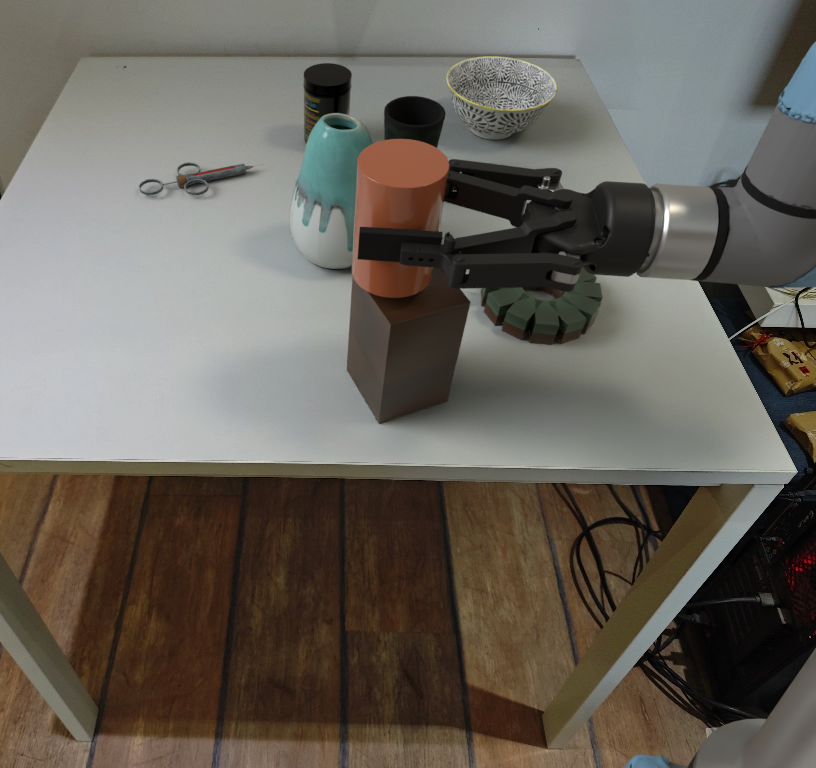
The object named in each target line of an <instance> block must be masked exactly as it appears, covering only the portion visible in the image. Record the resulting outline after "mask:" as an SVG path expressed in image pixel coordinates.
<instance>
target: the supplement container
mask: <svg viewBox="0 0 816 768" xmlns="http://www.w3.org/2000/svg"><path fill="white" fill-rule="evenodd" d="M352 76H353V73H352V71H351V70H350V69H349V68H348V67H346V66H345V65H342V64H338V63H332V62H323V63H322V62H321V63H316V64H313V65H310V66H309V67H307V68H305V70H304V71H303V84H302V87H303V140H304V143H305V145H306V144H307V141H308V138H309V135H310V133H311V131H312V129H313V128H314V126H315V124H316V123H317V122H318V120H319V119H320V118H321V117H322V116H324V115H327V114H331V113H341V114H346V115H350V116H351V93H352V78H353V77H352Z"/></svg>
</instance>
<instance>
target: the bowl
mask: <svg viewBox="0 0 816 768" xmlns="http://www.w3.org/2000/svg"><path fill="white" fill-rule="evenodd" d="M445 78H446V84H447V87H448V89H449V94H450V99H451V103H452V107H453V110H454V111H455V114H456V116H457V117H458V118H459V119H460V121H461V122H462V123H463V124H464V125H466V126H467V127H468V129H469V130H470V132H471V133H472V134H473V135H475V136H477V137H478V138H482V139H484V140H486V139H487V140H491V141H492V140H494V141H495V140H497V141H498V140H503V139H507V138H510V136H512V135H513V134H516V133H519V132H521V131H523V130H525V129H526V128H528V127H530V126H531V125H532V124H533V123H534V122H535V121H536V120H537V119H538V118H539V116H541V114H542V113H543V111H544V110H545V109H546V107H547V106H548V104H550V103H551V101H553V99H554V98H555V97H556V95H557V92H558V84H557V82H556V80H555V79H554V77H553V76H552V75H551V74H550V73H549V72H548V71H547V70H545V69H544V68H542V67H540V66H538V65H537V64H533V63H531V62H529V61H527V60H526V61H525V60H522V59H518V58H513V57H508V56H499V55H490V56H487V55H486V56H478V57H477V56H476V57H471V58H467V59H463V60H462V61H459V62H457V63H455V64H454V65H452V66H451V67H450V68H449V69H448V71H447V73H446V77H445Z"/></svg>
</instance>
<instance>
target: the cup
mask: <svg viewBox="0 0 816 768" xmlns="http://www.w3.org/2000/svg"><path fill="white" fill-rule="evenodd" d="M445 118H446V110H445V108H444V106H443V105H442V104H440V103H439V102H438V101H436V100H434V99H431V98H429V97H424V96H418V95H407V96H400V97H397V98H394V99H392V100H390V101H389V102H388V103H386V105H385V106H384V110H383V123H384V125H383V129H384V130H383V132H384V133H383V135H384V136H383V137H384V138H383V139H384V140H389V139H410V140H417V141H421V142H424V143H427V144H430V145H432V146H434V147H436V148H437V149H438V146H439V142H440V140H441V139H440V138H441V135H442V131H443V130H442V129H443V127H444V123H445ZM384 140H383V141H384Z"/></svg>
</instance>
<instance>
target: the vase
mask: <svg viewBox="0 0 816 768" xmlns="http://www.w3.org/2000/svg"><path fill="white" fill-rule="evenodd" d="M371 136H372V135H371V133H370V131H369V129H368V127H367V126H366V124H365V123H364V122H363V121H362V120H361V119H359V118H357V117H355V116H353V115H351V114H350V115H346V114H341V113H331V114H327V115H324V116H322V117H321V118H320V119H319V120H318V122H317V123H316V124H315V126H314V128H313V129H312V131H311V133H310V135H309V138H308V141H307V144H306V143H305V147H304V151H303V155H302V159H301V164H300V168H299V171H298V174H297V177H296V179H295V182H294V185H293V191H292V195H291V200H290V207H289V216H288V217H289V222H288V223H289V224H288V229H289V234H290V237H291V240H292V242H293V244H294V246H295V248H296V249H297V250H298V252H299V253H300V254H301V256H303V257H304V259H306V260H307V261H309V262H310V263H312V264H314V265H316V266H318V267H321V268H326V269H334V270H337V269H338V270H339V269H347V268H352V254H353V234H354V215H355V196H356V177H357V160H358V157H359V155H360V153H361V152H362V151H363V150H364V149H365V148H366V147H368V146H370V145H371V144H373V140H372V137H371Z"/></svg>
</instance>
